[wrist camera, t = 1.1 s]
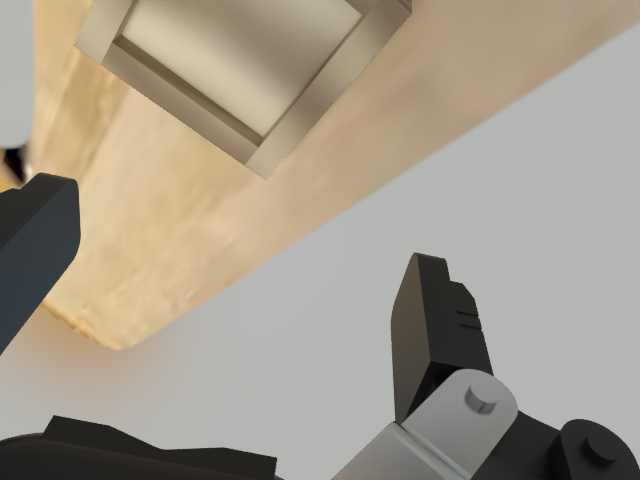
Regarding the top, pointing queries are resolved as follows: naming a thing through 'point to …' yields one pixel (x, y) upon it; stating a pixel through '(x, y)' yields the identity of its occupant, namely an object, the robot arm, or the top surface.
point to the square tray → (241, 62)
